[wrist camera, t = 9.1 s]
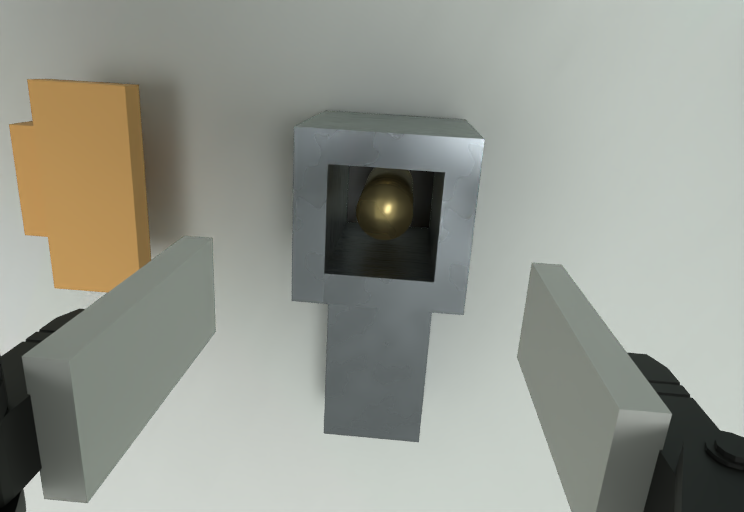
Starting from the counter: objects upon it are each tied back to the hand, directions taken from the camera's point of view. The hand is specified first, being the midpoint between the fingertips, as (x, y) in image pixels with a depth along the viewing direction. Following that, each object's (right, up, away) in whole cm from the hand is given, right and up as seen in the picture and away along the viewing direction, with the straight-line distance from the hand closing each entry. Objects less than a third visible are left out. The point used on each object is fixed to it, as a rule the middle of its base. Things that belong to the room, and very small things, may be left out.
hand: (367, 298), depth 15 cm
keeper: (-12, +6, +15) cm, 20 cm away
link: (+1, +1, +16) cm, 16 cm away
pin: (+1, +5, +14) cm, 15 cm away
